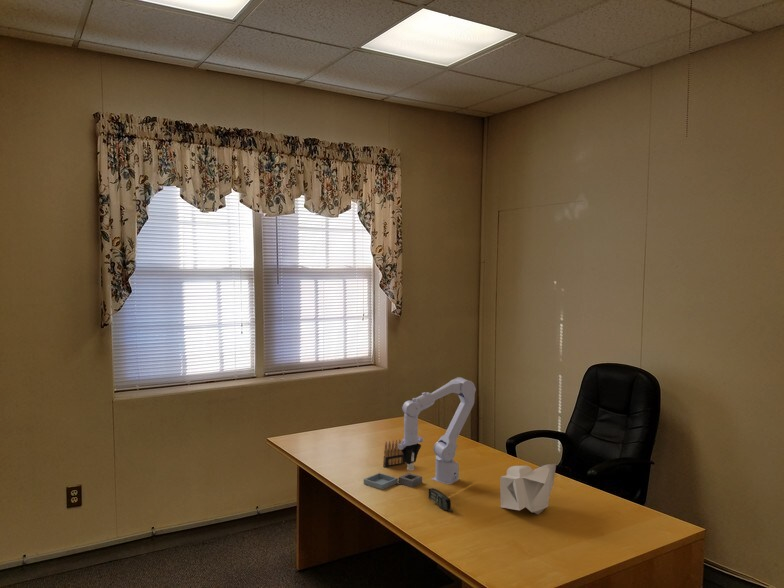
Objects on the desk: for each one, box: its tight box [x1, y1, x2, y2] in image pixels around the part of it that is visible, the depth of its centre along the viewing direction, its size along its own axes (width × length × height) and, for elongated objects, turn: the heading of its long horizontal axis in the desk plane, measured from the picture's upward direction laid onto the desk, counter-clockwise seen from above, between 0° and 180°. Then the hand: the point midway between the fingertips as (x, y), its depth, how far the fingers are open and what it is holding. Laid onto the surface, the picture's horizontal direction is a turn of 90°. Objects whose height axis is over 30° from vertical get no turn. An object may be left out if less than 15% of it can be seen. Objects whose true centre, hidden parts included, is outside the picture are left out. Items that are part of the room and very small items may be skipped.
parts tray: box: [363, 472, 399, 491], centre depth 241 cm, size 10×10×2 cm
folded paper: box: [499, 463, 557, 516], centre depth 218 cm, size 17×24×17 cm
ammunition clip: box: [382, 439, 406, 469], centre depth 264 cm, size 11×2×12 cm, turn 119°
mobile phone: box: [428, 487, 454, 513], centre depth 220 cm, size 5×3×15 cm
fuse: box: [406, 452, 415, 472], centre depth 242 cm, size 3×3×7 cm
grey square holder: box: [398, 472, 423, 488], centre depth 242 cm, size 7×7×3 cm
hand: (410, 462), depth 242 cm, fingers closed on fuse, 3 cm apart
